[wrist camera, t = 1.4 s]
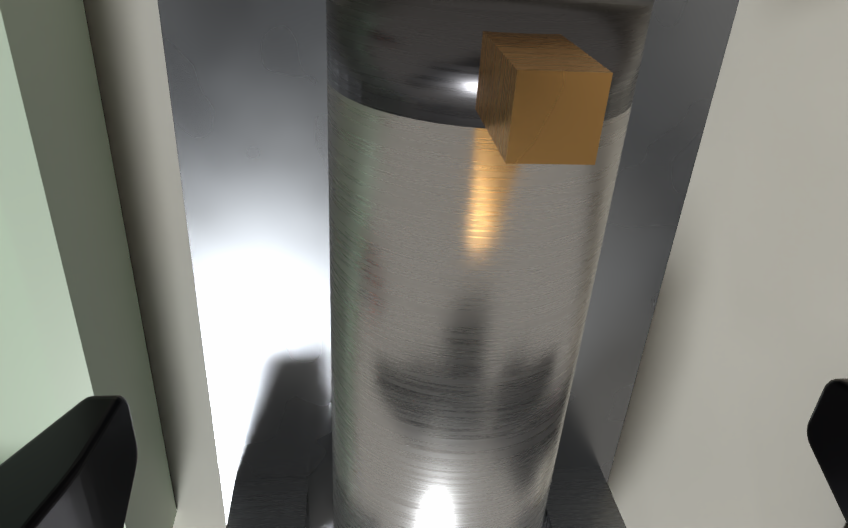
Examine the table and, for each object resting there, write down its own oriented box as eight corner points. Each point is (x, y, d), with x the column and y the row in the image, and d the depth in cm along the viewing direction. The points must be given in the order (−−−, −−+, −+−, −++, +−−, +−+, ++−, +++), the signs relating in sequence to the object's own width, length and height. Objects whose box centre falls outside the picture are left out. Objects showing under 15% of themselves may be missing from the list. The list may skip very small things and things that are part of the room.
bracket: (727, -82, 11) (1121, -36, 5) (557, 596, 20) (640, 877, 14) (159, -118, 10) (-74, -105, 4) (247, 616, 19) (208, 926, 13)
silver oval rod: (591, -29, 10) (802, 54, 6) (488, 590, 18) (540, 848, 13) (328, -42, 10) (314, 36, 5) (336, 599, 17) (333, 871, 13)
